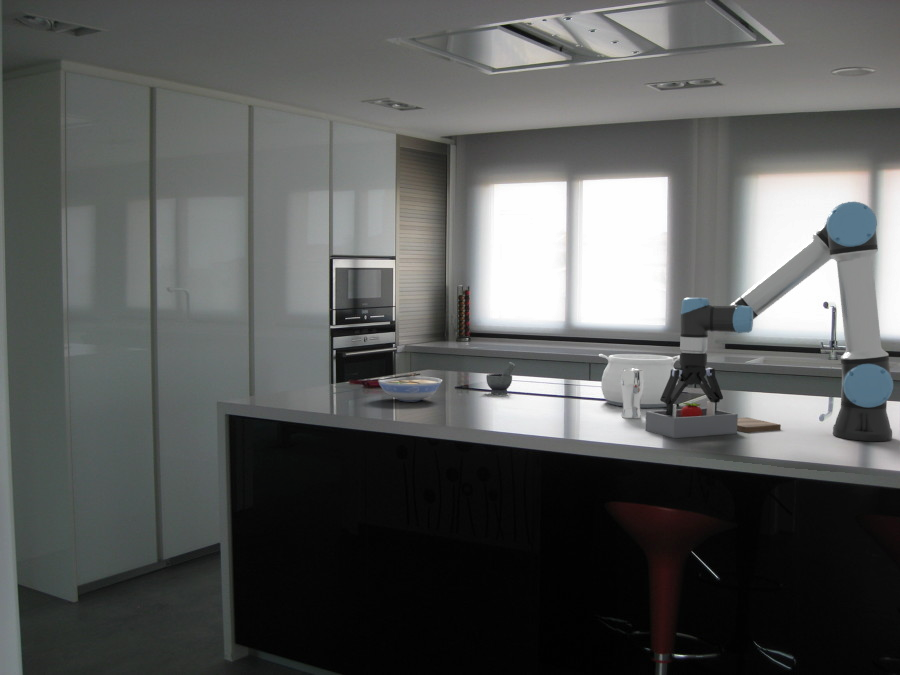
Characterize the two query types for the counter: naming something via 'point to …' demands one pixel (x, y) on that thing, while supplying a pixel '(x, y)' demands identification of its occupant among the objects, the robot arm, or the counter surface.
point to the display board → (755, 425)
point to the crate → (691, 424)
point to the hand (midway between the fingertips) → (691, 425)
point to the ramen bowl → (409, 386)
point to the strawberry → (691, 410)
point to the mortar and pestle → (500, 380)
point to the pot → (653, 377)
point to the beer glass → (631, 392)
